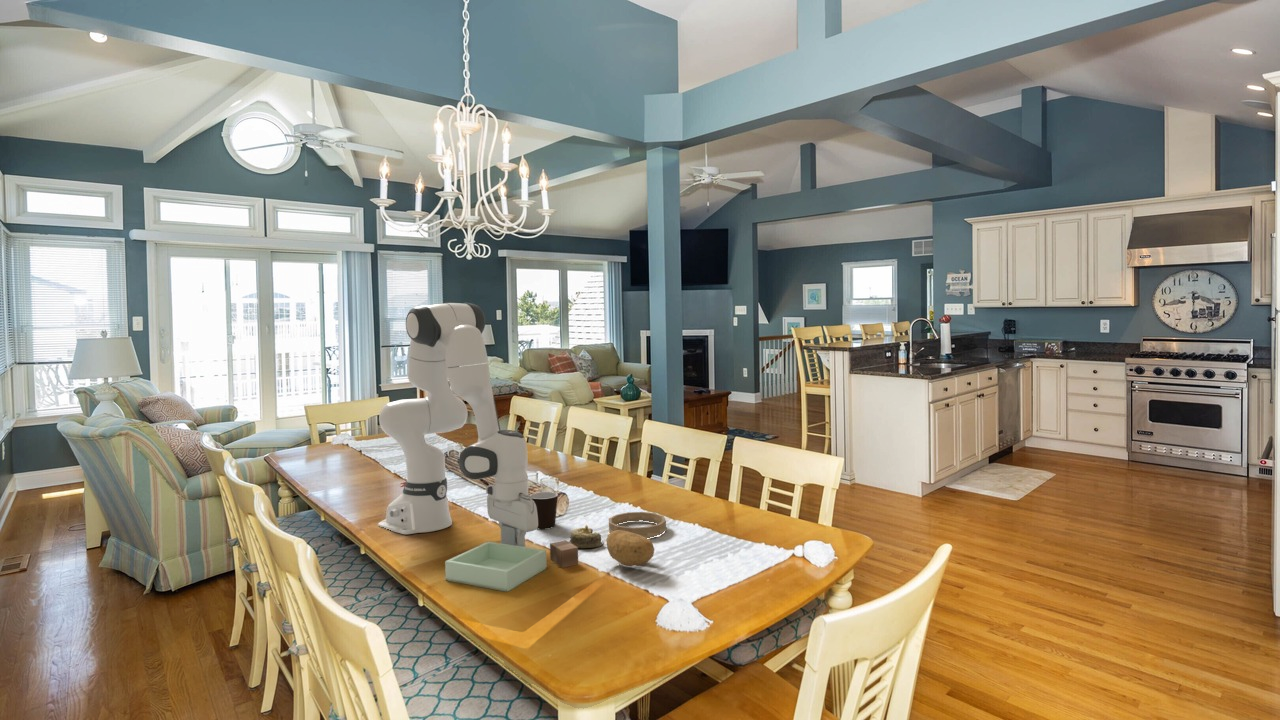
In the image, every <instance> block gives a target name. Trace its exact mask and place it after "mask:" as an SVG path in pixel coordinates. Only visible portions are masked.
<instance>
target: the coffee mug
mask: <svg viewBox="0 0 1280 720" xmlns="http://www.w3.org/2000/svg"><path fill="white" fill-rule="evenodd" d="M528 495H529V496H531V498H532V500H533V501H534V503H535V504H536V508H537V515H538V528H539V529H538V530H546V529H545V528H550V529H552V528H551V527H553V528H554V527H556V518H557V508H558V499H559V498H558V496H559V494H558V493H557V492H553V491H540V492H535V493H531V494H528Z"/></svg>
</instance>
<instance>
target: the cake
mask: <svg viewBox="0 0 1280 720" xmlns="http://www.w3.org/2000/svg"><path fill="white" fill-rule="evenodd" d="M569 538H570V539H569V541H568V542H570V543H571V544H573V545H575V546H577V547H578V549H591V548H592V549H593V548H597V547H600V546H602V545H604V543H605V542H604V540H602V534H600V533H599V532H594V531H593V528H590V527H589V526H588V525H585V526H584V527H580V528H576V529H573V530H572V532H570V535H569ZM601 540H602V542H601Z"/></svg>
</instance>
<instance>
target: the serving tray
mask: <svg viewBox="0 0 1280 720" xmlns="http://www.w3.org/2000/svg"><path fill="white" fill-rule="evenodd" d="M547 565H548V564H547V550H546V549H541V548H534V547H527V546H525V547H522V546H515V545H508V544H501V542H494V541H486V542H484V543H482V544H480V545H477V546H475V547H473V548H471V549H469V550H467V551H465V552H463V553H461V554H458V555H456V556H453V557H451V558H449V559H447V560H445V561H444V567H445V581H448V582H453V583H458V584H462V585H469V586H474V587H478V588H479V587H480V588H484V589H490V590H495V591H496V590H497V591H501V592H506V593H508V592H510V591H511V590H513V589H515V588H516V587H518V586H520V585H522V584H523V583H524V582H525V583H526V581H528V580H529V579H531V578H533V577H534V576H536V575H538V574H540V573H541V572H543V571H544V570H546V569H547Z"/></svg>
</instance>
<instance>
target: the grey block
mask: <svg viewBox="0 0 1280 720" xmlns="http://www.w3.org/2000/svg"><path fill="white" fill-rule="evenodd" d="M517 536H518V532H517V528H514V527H512V526H509V525H506V524H505V525H503V526H501V529H500V543H501V544H508V545H515V546H522V547H526V536H525V537H524V544H521V545H519V544H517V543H516V537H517Z"/></svg>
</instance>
